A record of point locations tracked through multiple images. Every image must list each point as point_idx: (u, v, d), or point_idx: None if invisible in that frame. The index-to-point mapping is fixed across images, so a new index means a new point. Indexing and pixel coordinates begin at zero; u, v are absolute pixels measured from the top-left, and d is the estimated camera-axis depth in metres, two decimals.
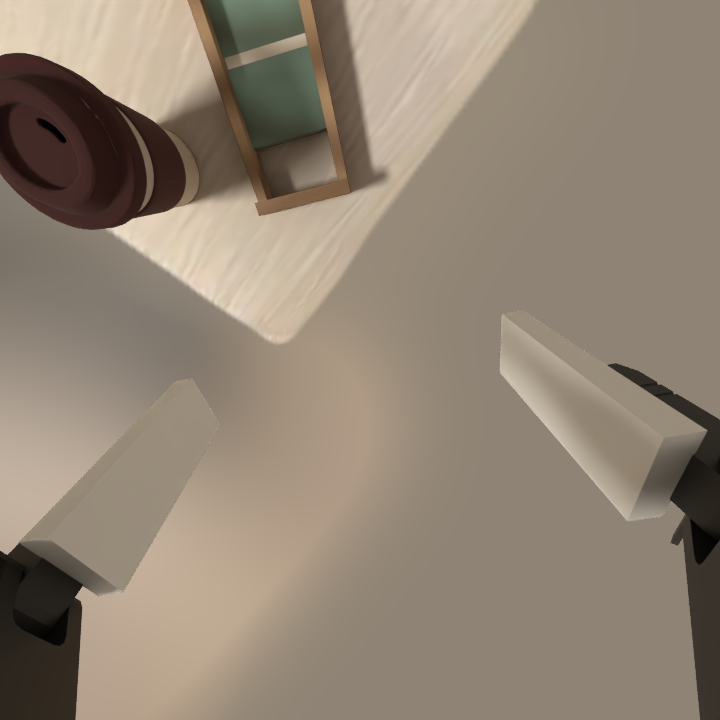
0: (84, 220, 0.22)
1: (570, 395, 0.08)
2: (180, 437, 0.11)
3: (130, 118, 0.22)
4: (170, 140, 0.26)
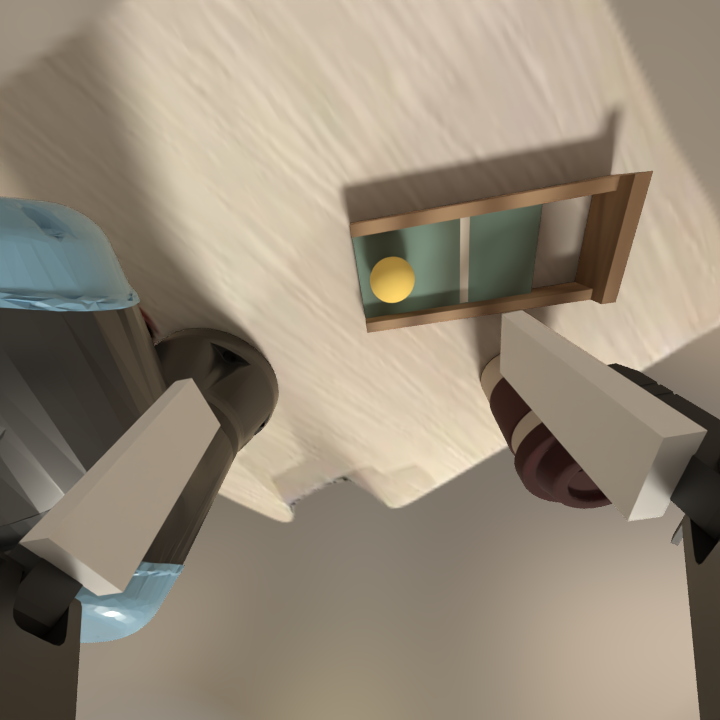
0: None
1: (570, 395, 0.08)
2: (180, 437, 0.11)
3: None
4: None
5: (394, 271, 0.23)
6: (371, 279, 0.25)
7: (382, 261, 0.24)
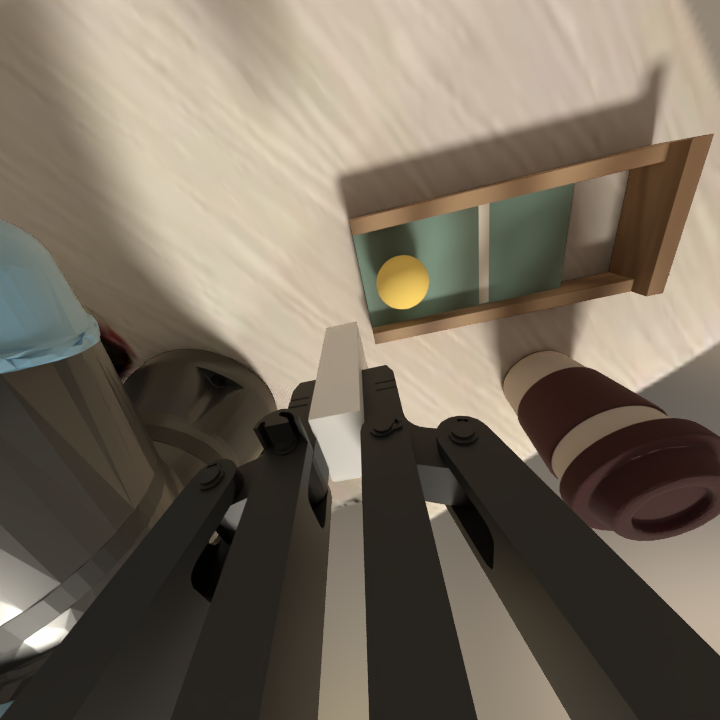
0: None
1: None
2: None
3: (595, 412, 0.20)
4: (559, 374, 0.24)
5: (406, 272, 0.20)
6: (378, 283, 0.21)
7: (390, 261, 0.21)
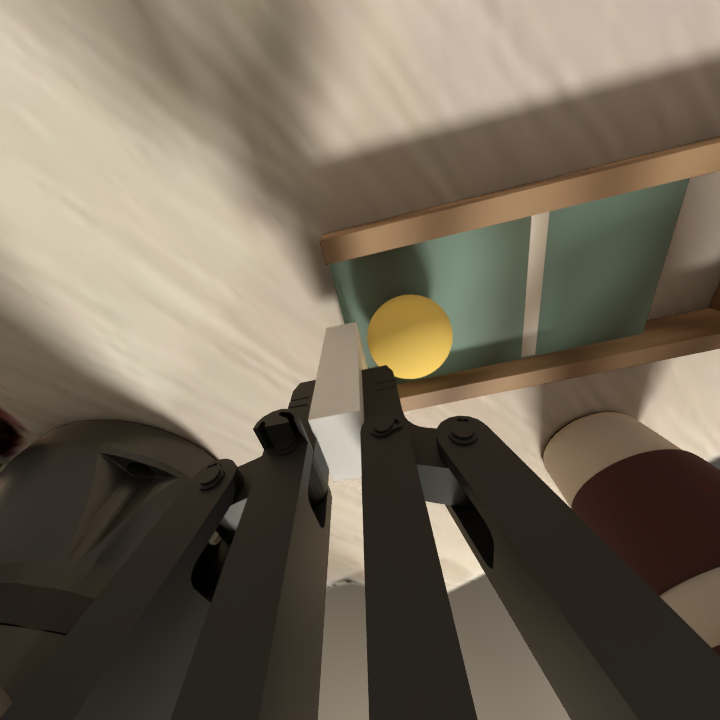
0: None
1: None
2: None
3: None
4: (642, 462, 0.16)
5: (416, 329, 0.12)
6: (370, 341, 0.13)
7: (389, 307, 0.12)
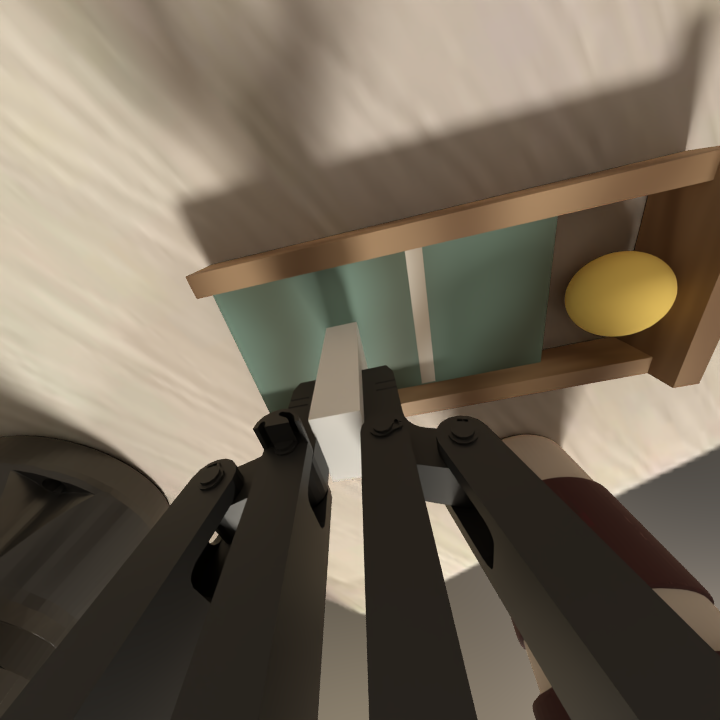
0: None
1: None
2: None
3: None
4: None
5: None
6: (676, 284, 0.12)
7: (648, 254, 0.12)
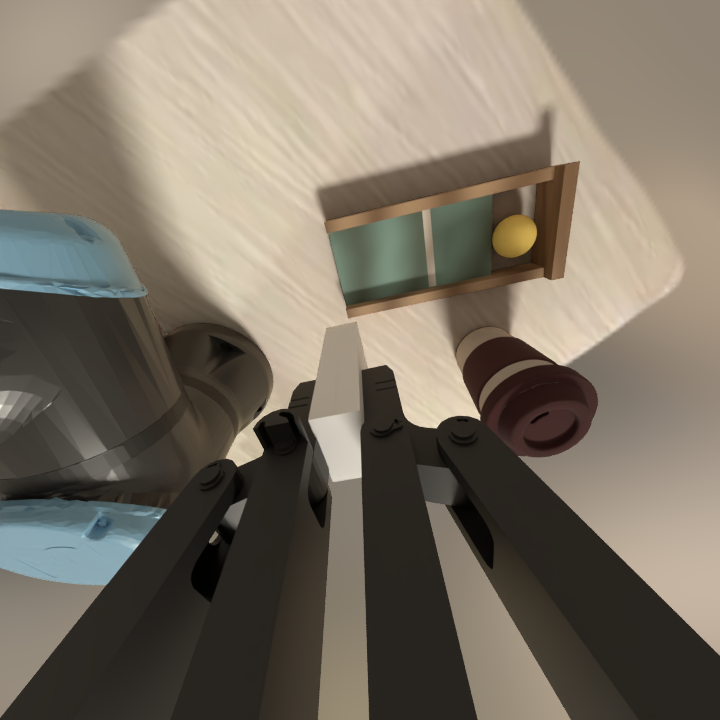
0: None
1: None
2: None
3: (505, 365, 0.27)
4: (490, 341, 0.31)
5: None
6: (532, 231, 0.27)
7: (523, 216, 0.27)
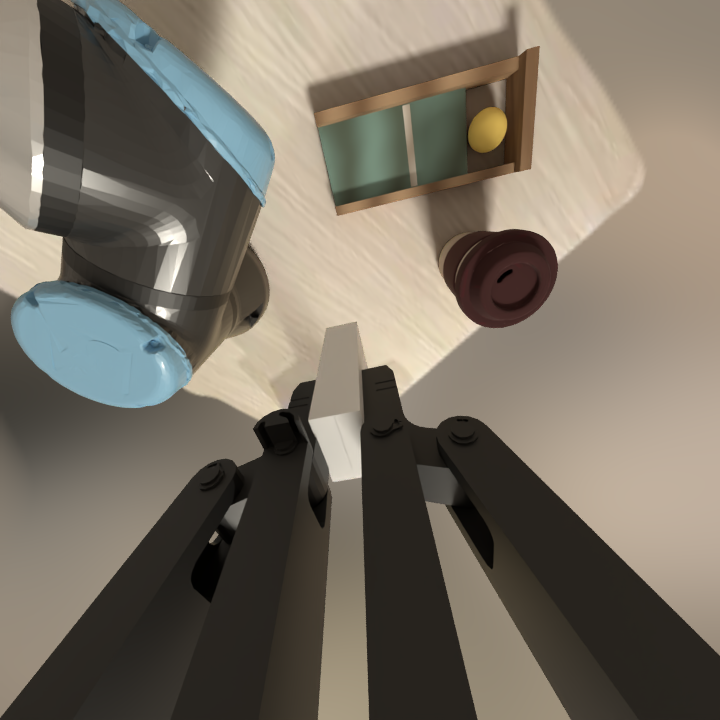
0: None
1: None
2: None
3: (477, 241, 0.30)
4: (466, 235, 0.34)
5: None
6: (503, 119, 0.30)
7: (495, 107, 0.30)
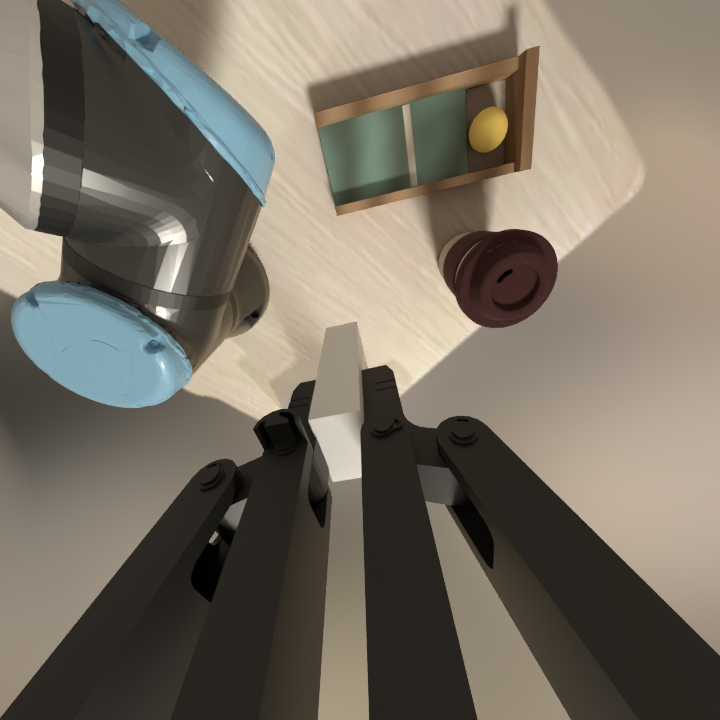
0: None
1: None
2: None
3: (477, 241, 0.30)
4: (466, 235, 0.34)
5: None
6: (504, 119, 0.30)
7: (495, 107, 0.30)
